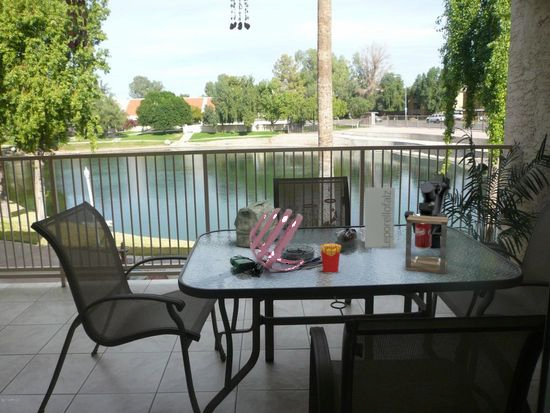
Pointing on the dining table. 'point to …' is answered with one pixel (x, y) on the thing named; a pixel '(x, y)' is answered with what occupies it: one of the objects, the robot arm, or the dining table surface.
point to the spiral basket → (273, 235)
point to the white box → (379, 217)
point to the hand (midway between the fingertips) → (422, 233)
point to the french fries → (330, 257)
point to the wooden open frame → (420, 261)
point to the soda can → (423, 235)
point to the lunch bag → (253, 222)
